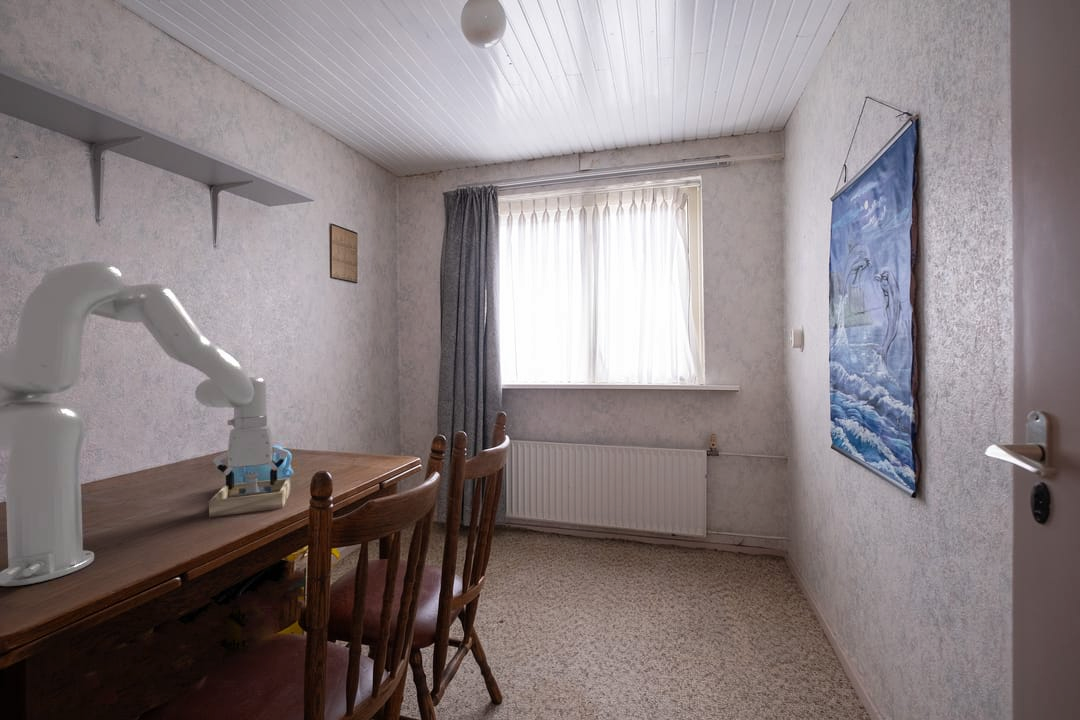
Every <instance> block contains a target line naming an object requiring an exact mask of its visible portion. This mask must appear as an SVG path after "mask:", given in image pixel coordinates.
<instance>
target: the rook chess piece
mask: <svg viewBox="0 0 1080 720" xmlns="http://www.w3.org/2000/svg"><path fill="white" fill-rule="evenodd" d="M258 475H259V474H258V473H257V471H253V472H252V471H250V473H249V472H246V475H245V476H244V477H245V478H246V479H247V480H246V484H247V486H246V492H245V493H254V492H259V490H258V486H257V481H258V480H257V476H258Z"/></svg>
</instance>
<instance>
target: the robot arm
mask: <svg viewBox="0 0 1080 720" xmlns="http://www.w3.org/2000/svg"><path fill="white" fill-rule="evenodd" d="M90 315H95V316H98V317H102V318H105V319H110V320H114V321H119V322H126V323H134V324H135V323H142V325H143V326H144V327H145V329H146V330H147V331H148V332H149V333H150V334H151V336H152V337H153V338H154V340H155V341H156V342H157V344H158V346H160V348H161V349H162V350H163V351H164V353H165V354H166V355H167V356H168V357H169V358H172V359H174V360H175V361H178V362H179V363H182V364H184V365H187V366H188V367H189V366H190V367H192V368H194V369H197V370H198V371H200V372H201V373H203V374H204V375H205V376H206V377H208V379H205V380H203V381H202V382H200V383H199V384H198V385H197V387H196V389H195V390H194V391H195V395H194V396H195V398H196V401H197V402H198V403H200V404H201V405H203V406H205V407H209V408H219V409H220V408H221V409H222V408H226V409H227V408H233V418H232V419H231V418H230V419H228V420H227V426H232V427H233V428H232V429H230V432H229V437H228V448H227V451H225V452H224V453H221V454H220V455H218V456H216V457H214V458H213V459H212V462H213V463H214V464H215V466H216V467H217V470H219V471H220V472H222V473H223V474H224V476H225V485H226V486H228V489H229V490H231V489H232V488H233V487H234V473H233V471H232V470H233V469H234V468H237V467H249V466H259V465H266V464H267V465H268V466H269V467H270V468H271V471H270V485H274V483H275V481H277V468H278V467H279V466H280V465H281V464H282V463H283V462H284V460H285V459H286V457H287V455H288V452H287V451H284V450H281V449H279V448H276V447H273V446H274V444H273V443H274V442H273V436H272V435H273V434H272V429H271V427H270V426H269V425H268V413H267V411H268V410H267V406H268V405H267V382H266V380H265V378H263V377H260V376H259V377H258V376H253V377H252V376H251V377H250V376H249V375H248V374H247V373H246V371H245V370H244V368H243V367H242V366H241V365H240V363H239V362H238V361H237V360H236V359H235V358H234V357H233V356H232V355H230V354H229V353H228V352H226V351H225V350H223V349H222V348H221V347H220V346H218V345H217V344H216V343H214V342H213V341H211V340H210V339H209V338H208V337H207V336H206V335H205V334H204V333H203V331H202V330H201V329H200V327H199V326H198V325H197V323H196V321H195V320H194V319H193V317H192V316H191V314H190V313H189V312H188V311H187V309H186V308H185V306H184V305H183V303H182V302H181V300H180V299H179V298H178V296H177V295H176V294H175V292H174V291H173V290H171V289H170V288H169V287H167V286H166V285H162V284H158V283H143V284H136V285H130V284H126V280H125V276H124V274H123V273H122V271H121V270H120V269H119V268H118V267H117V266H115V265H113V264H111V263H107V262H105V261H104V262H103V261H97V260H96V261H94V260H93V261H84V262H80V263H74V264H69V265H68V264H67V265H63V266H59V267H54V268H52V269H50V270H49V271H47V272H46V273H45V274H44V275H43V276H42V278H41V280H40V283H39V284H37V286H36V287H35V288H34V289H32V292H31V293H29V295H28V297H27V298H26V300H25V301H24V304H23V306H22V309H21V311H20V316H19V323H18V327H17V329H18V330H17V332H16V333H17V335H16V341H15V346H12V347H8V348H6V349H3V350H1V351H0V450H2V451H7V452H8V451H9V458H8V461H7V465H6V472H5V485H4V486H5V502H6V503H5V506H6V532H7V536H6V537H7V560H8V564H7V565H8V567H7V568H5V569H3V570H2V571H0V587H1V586H2V587H16V586H18V587H19V586H25V585H26V586H27V585H31V584H36V583H41V582H45V581H49V580H54V579H57V578H60V577H62V576H66V575H68V574H71V573H74V572H76V571H79V570H81V569H83V568H85V567H87V566H88V565H90V564H91V563H93V561H94V560H95V553H94V552H93V551H91V550H84V549H83V548H84V545H83V544H84V543H83V517H82V515H83V511H82V509H83V508H82V483H81V457H82V456H81V455H82V450H83V449H82V448H83V442H84V437H85V423H84V419H83V418H82V417H81V415H80V413H79V412H78V411H77V410H76V409H74V408H72V407H71V406H68V405H66V404H64V403H60V402H56V401H55V402H54V401H52V397H53V396H52V395H55V394H59V393H63V392H65V391H68V390H70V389H72V388H73V387H74V386H75V385H76V384H77V383H78V381H79V377H80V373H81V365H82V364H81V362H82V351H83V339H84V338H83V336H84V331H85V325H86V323H87V319H88V318H89V316H90ZM274 453H276V454H279V455H281V458H280V460H279V461H278V462H277V463H276V462H275V461H274V460H273V458H274ZM226 458H227V465H225V464H224V463H223V462H222V460H224V459H226Z"/></svg>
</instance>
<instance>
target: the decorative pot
mask: <svg viewBox="0 0 1080 720" xmlns="http://www.w3.org/2000/svg"><path fill="white" fill-rule="evenodd" d="M273 447H276V448H279V449H281V450H284V451H287V452H288V455H287V457H286V459H285V460H284V462H283V463H282V464H281V465H280V466H279V467H278V468H277V479H285V478H291V477H292V476H293V475H294V470H293V469H292V467H291V466H292V465H291V462H292V460H293V459H292V458H293V455H292V453H291V451H289V450H287V449H284V448H283V447H282V446H281V445H277V444H276V445H275V444H273ZM280 458H281V455H279V454H276V453H274V458H273V460H274V461H275V462H276V463H277V462H278V461H279V460H280ZM232 471H233V473H234V484H239V483H246V480H247V479H246V478H245V477H244V476H245V475H246V472H249V473H250V471H252V472H253V471H257V473H258V474H259V475H258V476H257V480H258V481H267V480H270V471H271V468H270V467H269V466H268V465H267V464H266V465H259V466H249V467H237V468H234V469H233V470H232Z"/></svg>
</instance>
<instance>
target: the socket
mask: <svg viewBox="0 0 1080 720" xmlns="http://www.w3.org/2000/svg"><path fill="white" fill-rule="evenodd" d="M258 490H259V492H254V493H245V492H246V488H240V489H239V494H236V495H233V497H242V496H250V495H259V494H268V493H272V490H271V485H265V486H258Z"/></svg>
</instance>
